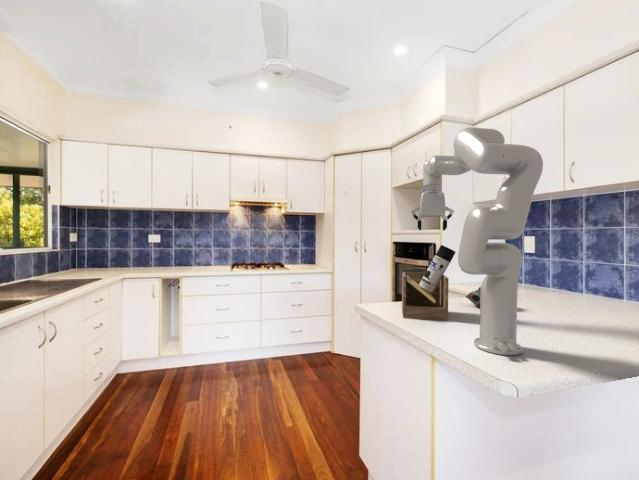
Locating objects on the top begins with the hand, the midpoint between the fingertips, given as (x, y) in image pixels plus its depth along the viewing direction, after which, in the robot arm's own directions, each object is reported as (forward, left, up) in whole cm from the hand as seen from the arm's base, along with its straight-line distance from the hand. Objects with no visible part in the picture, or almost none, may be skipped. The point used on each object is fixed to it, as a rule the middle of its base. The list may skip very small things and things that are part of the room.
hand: (432, 230), depth 128 cm
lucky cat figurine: (+24, -27, -37) cm, 52 cm away
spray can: (0, +2, -26) cm, 26 cm away
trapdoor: (0, +5, -25) cm, 26 cm away
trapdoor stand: (0, +3, -36) cm, 36 cm away
